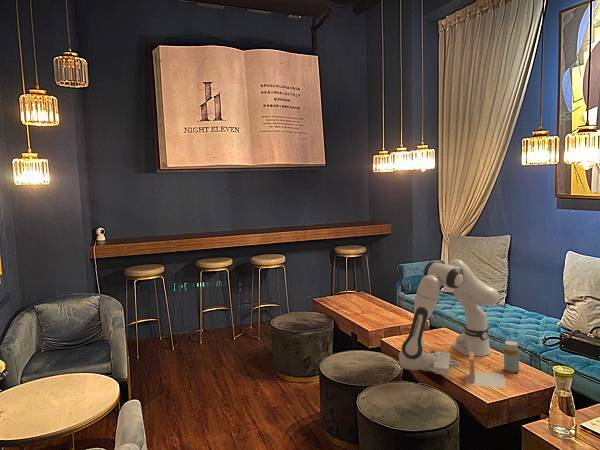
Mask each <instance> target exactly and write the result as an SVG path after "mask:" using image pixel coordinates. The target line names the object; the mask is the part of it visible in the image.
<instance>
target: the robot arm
mask: <svg viewBox="0 0 600 450" xmlns="http://www.w3.org/2000/svg"><path fill="white" fill-rule="evenodd" d="M442 286H443V287H446V288H449V289H453V297H454V298H455V299H456V301H458V302H459V304H460V305H461V306H462V308H463V311H464V314H465V323H466V325H465V326H463V327H462V329H463V330H464V331H463V332H462V333H460V334H458V336H456V338H455V342H454V343H452V344H451V347H452V348H453V349H454V350H456V351H458V352H459V353H461V354H463V355H465V356H467V357H468V356H469V357H470V352H474V357H485V356H489V355H490V354H491V353H492V350H491V346H490V340H489V328H488V316H487V313H486V312H485V311H484V310H483V309H482V308H481V307H480V306H483V307H494V306H496V305H497V304H498V302H499V300H500V294H499V291H498V290H497V289H496V288H494V287H491V286H490V285H488V284H486V283H485V282H483V281H481V280H480V278H478V277H476V275H475V274H474V272H473V271H472V270H471V269H470V268H469V266H468V265H467V264H466V263H465V262H464V261H462V260H461V259H458V258H455V259H451V260H450V261H448V263H447V264H445V263H440V262H438V261H429V262H428V263H427V264H426V265H425V266H424V270H423V277H422V278H421V281H420V283H419V285H418V287H417V290H416V294H415V299H414V309H413V320H412V324H411V326H410V327H411V328H410V331H409V334H408V336H407V337H406V339H405V340H404V342H403V343H402V345H401V351H400V352H399V354H398V363H399V366H400V368H402V369H404V370H409V371H410V370H411V371H419V370H420V371H424V372H432V373H434V374H436V375H437V374H438V375H442V376H448V375H449V374H450V369H453V368H460V361H459V360H454V359H451V353H449V352H447V351H436V350H434V349H433V350H430V351H429V352H427V353H425V352H424V351H423V350H424V347H425V341H424V339H423V334H424V331H425V327H426V324H427V322H428V321H429V318H430V317H431V316H432V313H433V312H434V310H435V308H436V306H437V303H438V302H439V301H438V300H439V296H440V292H441V291H440V290H441V288H442Z"/></svg>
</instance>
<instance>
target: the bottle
mask: <svg viewBox="0 0 600 450" xmlns="http://www.w3.org/2000/svg"><path fill="white" fill-rule="evenodd" d="M518 348H519V343H518V341H515V340H506V341H504V350H503V366H504V367H503V368H504V369H503V370H504V371H505V372H507V373H512V374H517V373H519V372H520V352H519V351H520V350H519V349H518Z"/></svg>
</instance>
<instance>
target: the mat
mask: <svg viewBox="0 0 600 450" xmlns="http://www.w3.org/2000/svg"><path fill="white" fill-rule="evenodd" d="M465 386H472V387H483V386H484V387H485V388H497V389H506V388H507V387H506V381H505V374H504V373H496V372H484V371H483V372H482V371H475V383H470V370H469V371H468V370H465ZM484 387H483V388H484Z"/></svg>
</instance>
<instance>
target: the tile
mask: <svg viewBox="0 0 600 450" xmlns="http://www.w3.org/2000/svg"><path fill="white" fill-rule="evenodd" d="M469 371H470V383H475V372H476V370H475V356H474V352H470V355H469Z"/></svg>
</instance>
